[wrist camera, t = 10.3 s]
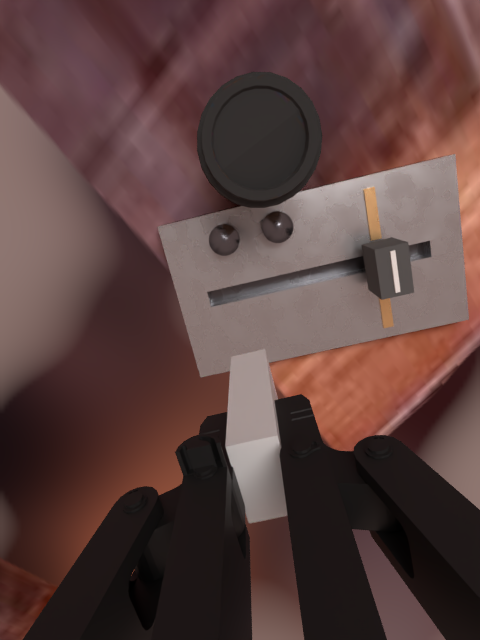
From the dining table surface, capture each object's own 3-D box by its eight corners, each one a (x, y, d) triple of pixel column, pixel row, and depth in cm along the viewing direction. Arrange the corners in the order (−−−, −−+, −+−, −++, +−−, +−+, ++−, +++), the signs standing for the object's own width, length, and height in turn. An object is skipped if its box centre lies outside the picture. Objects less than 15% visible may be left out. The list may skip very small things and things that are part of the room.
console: (162, 225, 42) (153, 228, 38) (442, 156, 40) (466, 152, 36) (202, 368, 47) (198, 385, 42) (456, 312, 45) (479, 325, 40)
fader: (353, 240, 42) (375, 250, 35) (381, 234, 41) (409, 242, 34) (359, 283, 43) (382, 300, 36) (387, 277, 43) (415, 293, 36)
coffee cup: (314, 169, 41) (352, 155, 26) (244, 221, 42) (244, 235, 28) (264, 91, 39) (277, 31, 24) (193, 148, 40) (165, 123, 26)
